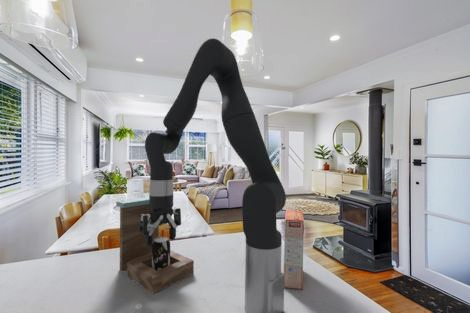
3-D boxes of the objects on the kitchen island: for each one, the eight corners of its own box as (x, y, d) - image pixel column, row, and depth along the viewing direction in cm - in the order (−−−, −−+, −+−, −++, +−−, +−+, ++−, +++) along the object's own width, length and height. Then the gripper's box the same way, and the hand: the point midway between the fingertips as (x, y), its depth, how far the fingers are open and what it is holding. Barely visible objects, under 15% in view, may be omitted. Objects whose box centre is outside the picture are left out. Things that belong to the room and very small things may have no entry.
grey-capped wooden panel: (164, 258, 92) (165, 197, 91) (122, 274, 79) (123, 203, 79) (157, 255, 95) (157, 195, 95) (115, 270, 82) (116, 201, 82)
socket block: (193, 273, 80) (193, 260, 80) (153, 293, 69) (153, 278, 69) (166, 260, 90) (166, 248, 90) (127, 276, 78) (127, 262, 78)
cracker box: (303, 290, 71) (304, 220, 71) (282, 288, 73) (283, 218, 73) (301, 269, 85) (302, 209, 85) (284, 266, 86) (285, 208, 86)
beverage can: (150, 280, 76) (150, 242, 76) (153, 271, 82) (153, 236, 82) (169, 278, 77) (169, 241, 77) (170, 270, 83) (170, 235, 83)
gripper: (148, 197, 71) (147, 252, 71) (186, 191, 82) (185, 239, 82) (134, 194, 76) (134, 246, 76) (172, 189, 87) (172, 234, 87)
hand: (161, 242), depth 79 cm, fingers open, 8 cm apart
